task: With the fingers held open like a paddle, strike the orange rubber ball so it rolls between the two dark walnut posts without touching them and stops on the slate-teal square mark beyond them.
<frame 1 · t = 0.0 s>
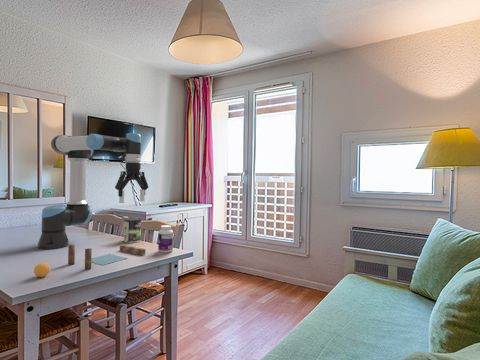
hand: (132, 202, 157), 28 cm above the table, tool pointing down, fingers open, 13 cm apart
pill bottle: (165, 251, 164), on the table
post 1: (71, 264, 137), on the table
post 2: (87, 269, 131), on the table
ball: (41, 270, 120), on the table
wooden bar: (132, 252, 160), on the table
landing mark: (106, 259, 146), on the table
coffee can: (132, 241, 188), on the table
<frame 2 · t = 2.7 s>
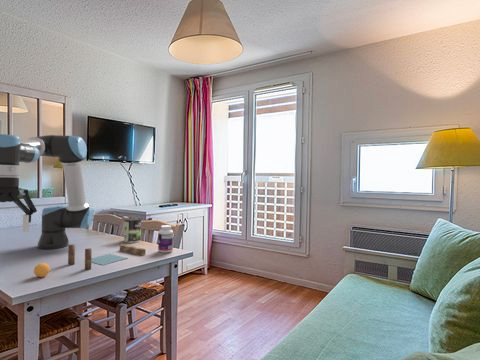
hand: (4, 234, 108), 20 cm above the table, tool pointing down, fingers open, 13 cm apart
nothing on the table moved.
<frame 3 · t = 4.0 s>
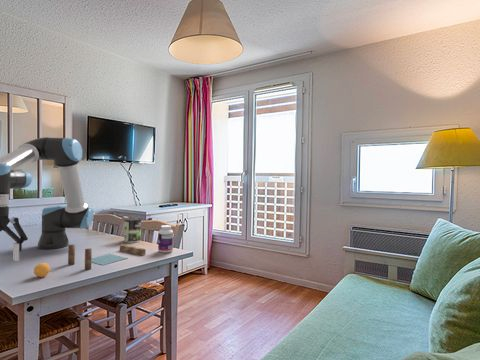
nothing on the table moved.
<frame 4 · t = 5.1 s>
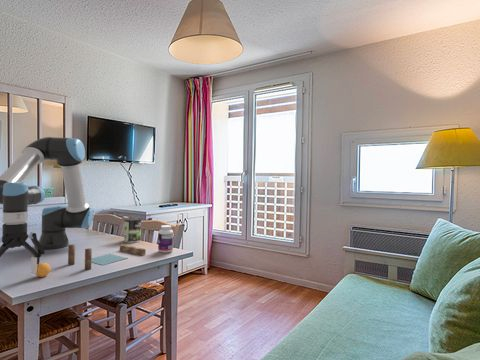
hand: (14, 278, 112), 2 cm above the table, tool pointing down, fingers open, 13 cm apart
ball: (42, 269, 120), on the table, touching gripper
everything else where it was.
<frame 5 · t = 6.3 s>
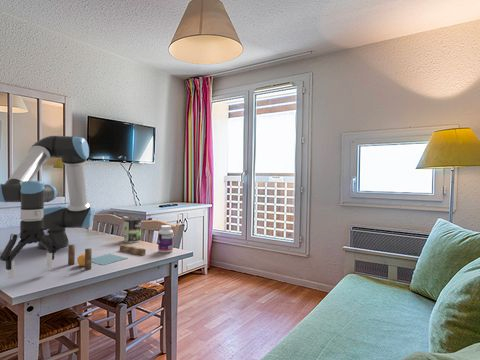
hand: (31, 272, 117), 3 cm above the table, tool pointing down, fingers open, 13 cm apart
ball: (83, 259, 135), on the table
everything else where it was.
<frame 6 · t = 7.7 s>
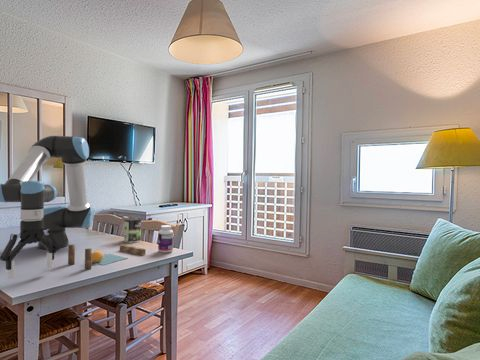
hand: (31, 272, 117), 3 cm above the table, tool pointing down, fingers open, 13 cm apart
ball: (96, 256, 141), on the table
everything else where it was.
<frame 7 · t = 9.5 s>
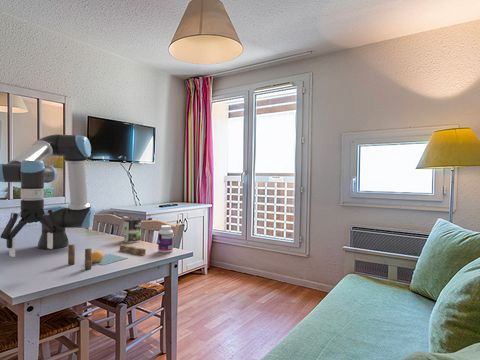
hand: (32, 252, 117), 11 cm above the table, tool pointing down, fingers open, 13 cm apart
nothing on the table moved.
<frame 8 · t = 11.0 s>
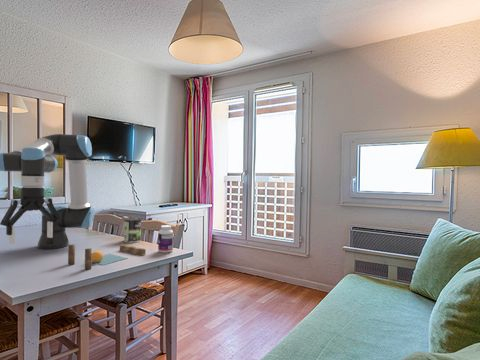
hand: (31, 240, 116), 16 cm above the table, tool pointing down, fingers open, 13 cm apart
nothing on the table moved.
at the end: ball 5.7 cm from the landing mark (horizontally); ball never touched post 1; ball never touched post 2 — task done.
